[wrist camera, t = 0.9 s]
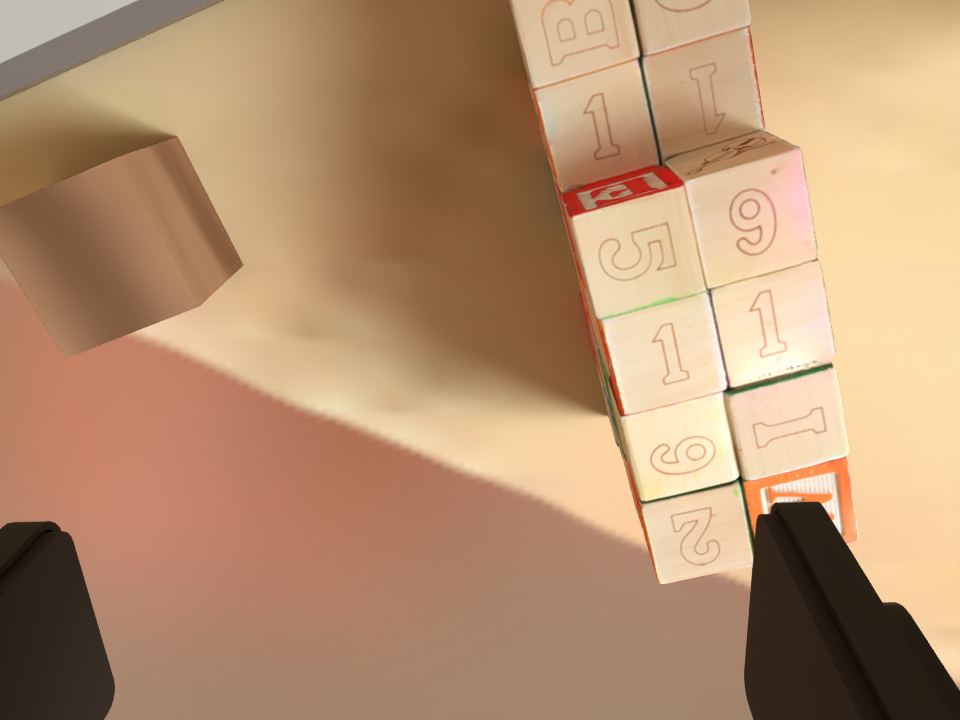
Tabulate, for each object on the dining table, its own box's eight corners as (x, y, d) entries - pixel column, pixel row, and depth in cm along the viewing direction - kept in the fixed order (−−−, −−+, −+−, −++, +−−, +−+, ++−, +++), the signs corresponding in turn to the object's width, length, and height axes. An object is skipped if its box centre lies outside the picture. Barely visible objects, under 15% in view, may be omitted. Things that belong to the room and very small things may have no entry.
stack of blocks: (478, -104, 30) (468, -185, 18) (652, -160, 29) (754, -281, 17) (608, 419, 37) (658, 593, 26) (748, 385, 36) (864, 549, 25)
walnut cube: (178, 136, 33) (118, 156, 28) (243, 264, 35) (199, 306, 30) (57, 188, 34) (-23, 217, 28) (127, 310, 36) (64, 358, 30)
